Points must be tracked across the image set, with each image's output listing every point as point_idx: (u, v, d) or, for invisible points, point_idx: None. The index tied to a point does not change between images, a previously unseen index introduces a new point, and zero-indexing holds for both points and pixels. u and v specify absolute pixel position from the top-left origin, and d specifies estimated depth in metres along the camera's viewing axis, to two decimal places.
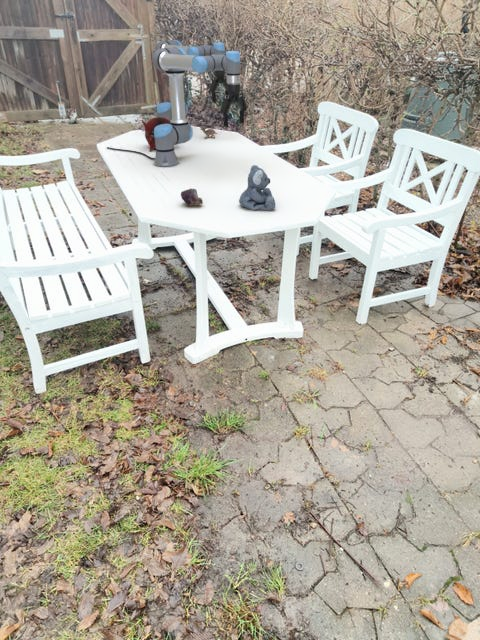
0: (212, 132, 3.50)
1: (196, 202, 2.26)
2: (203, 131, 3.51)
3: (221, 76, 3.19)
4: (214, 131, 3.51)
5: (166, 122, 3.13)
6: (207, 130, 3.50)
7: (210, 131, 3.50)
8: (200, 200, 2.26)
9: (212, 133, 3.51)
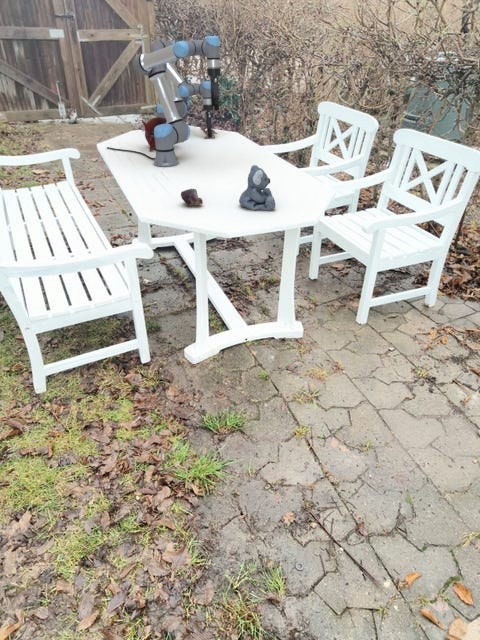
0: (212, 132, 3.50)
1: (196, 202, 2.26)
2: (203, 131, 3.51)
3: None
4: (214, 131, 3.51)
5: None
6: (207, 130, 3.50)
7: None
8: (200, 200, 2.26)
9: (212, 133, 3.51)
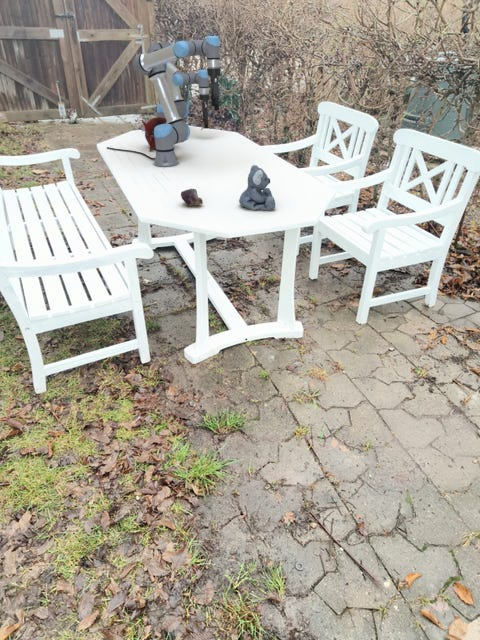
0: (208, 123, 3.41)
1: (196, 202, 2.26)
2: (199, 122, 3.42)
3: None
4: (210, 122, 3.42)
5: None
6: (203, 121, 3.41)
7: None
8: (200, 200, 2.26)
9: (208, 124, 3.41)
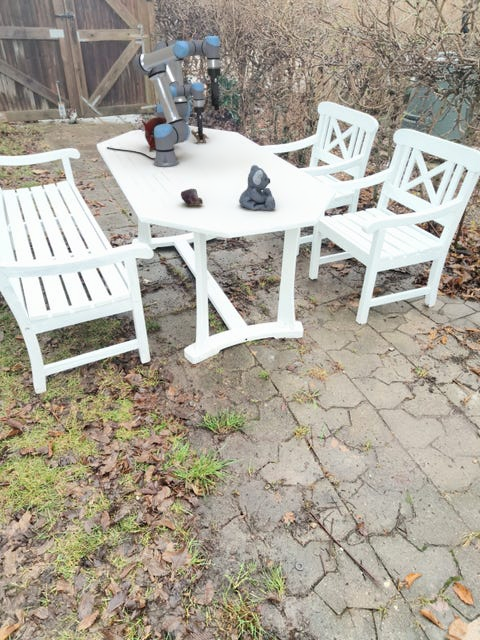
0: (203, 137, 3.38)
1: (196, 202, 2.26)
2: (194, 136, 3.38)
3: None
4: (205, 136, 3.38)
5: None
6: (198, 135, 3.38)
7: None
8: (200, 200, 2.26)
9: (203, 138, 3.38)
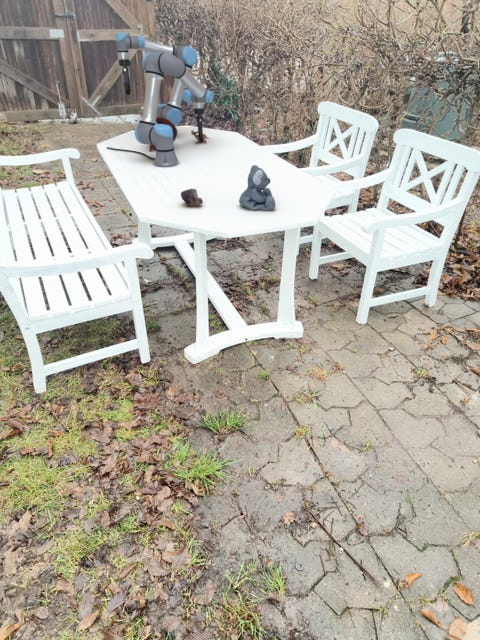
0: (203, 137, 3.38)
1: (196, 202, 2.26)
2: (194, 136, 3.38)
3: (126, 67, 3.12)
4: (205, 136, 3.38)
5: (166, 122, 3.13)
6: (198, 135, 3.38)
7: None
8: (200, 200, 2.26)
9: (203, 138, 3.38)
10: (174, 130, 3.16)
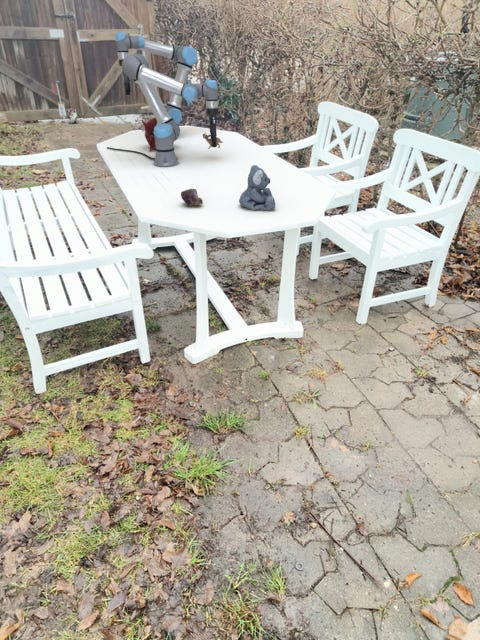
0: (217, 141, 2.94)
1: (196, 202, 2.26)
2: (206, 139, 2.94)
3: None
4: (219, 139, 2.94)
5: None
6: (211, 138, 2.94)
7: None
8: (200, 200, 2.26)
9: (217, 142, 2.94)
10: None
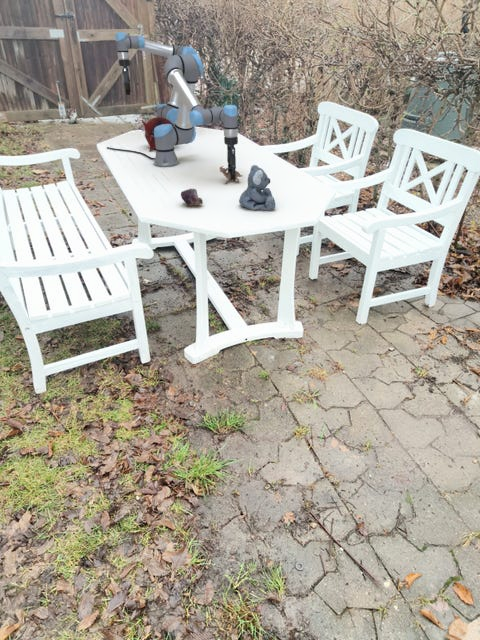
0: (236, 175, 2.58)
1: (196, 202, 2.26)
2: (223, 173, 2.59)
3: (126, 67, 3.12)
4: (238, 173, 2.59)
5: (166, 122, 3.13)
6: (229, 172, 2.58)
7: None
8: (200, 200, 2.26)
9: (235, 176, 2.58)
10: None
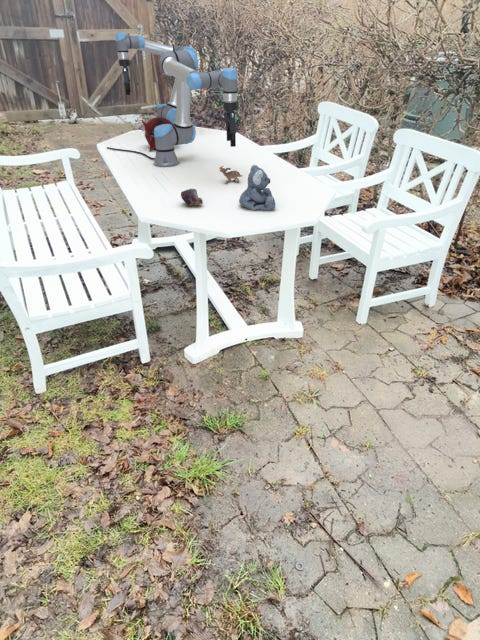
0: (236, 175, 2.58)
1: (196, 202, 2.26)
2: (223, 173, 2.59)
3: (126, 67, 3.12)
4: (238, 173, 2.59)
5: (166, 122, 3.13)
6: (229, 172, 2.58)
7: (233, 174, 2.58)
8: (200, 200, 2.26)
9: (235, 176, 2.58)
10: None
